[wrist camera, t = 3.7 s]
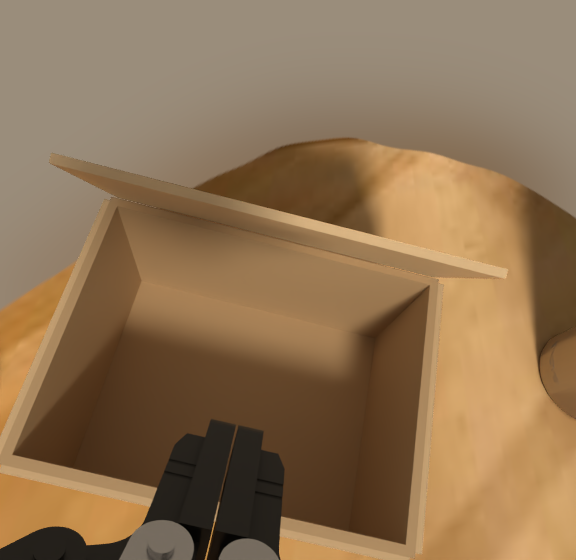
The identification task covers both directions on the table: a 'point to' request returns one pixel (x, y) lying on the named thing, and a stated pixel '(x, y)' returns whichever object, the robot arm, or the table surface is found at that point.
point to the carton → (238, 373)
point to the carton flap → (276, 223)
